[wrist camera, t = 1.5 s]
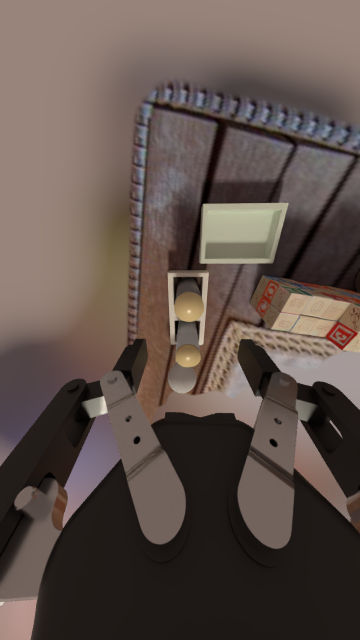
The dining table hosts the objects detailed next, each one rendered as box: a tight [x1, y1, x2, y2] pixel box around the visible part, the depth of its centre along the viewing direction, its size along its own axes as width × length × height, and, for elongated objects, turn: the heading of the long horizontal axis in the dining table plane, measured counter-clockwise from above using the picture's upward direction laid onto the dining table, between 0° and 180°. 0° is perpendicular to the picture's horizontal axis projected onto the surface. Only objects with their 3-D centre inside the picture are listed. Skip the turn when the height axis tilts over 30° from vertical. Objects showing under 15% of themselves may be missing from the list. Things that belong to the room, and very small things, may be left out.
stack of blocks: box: [250, 275, 360, 352], centre depth 25 cm, size 21×6×12 cm, turn 80°
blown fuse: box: [174, 277, 204, 322], centre depth 25 cm, size 4×4×11 cm
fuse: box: [176, 321, 201, 367], centre depth 29 cm, size 4×4×11 cm
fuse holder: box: [168, 270, 209, 345], centre depth 30 cm, size 7×15×3 cm, turn 0°
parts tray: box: [199, 203, 289, 264], centre depth 24 cm, size 12×8×3 cm, turn 90°
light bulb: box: [168, 361, 196, 393], centre depth 33 cm, size 6×6×10 cm
